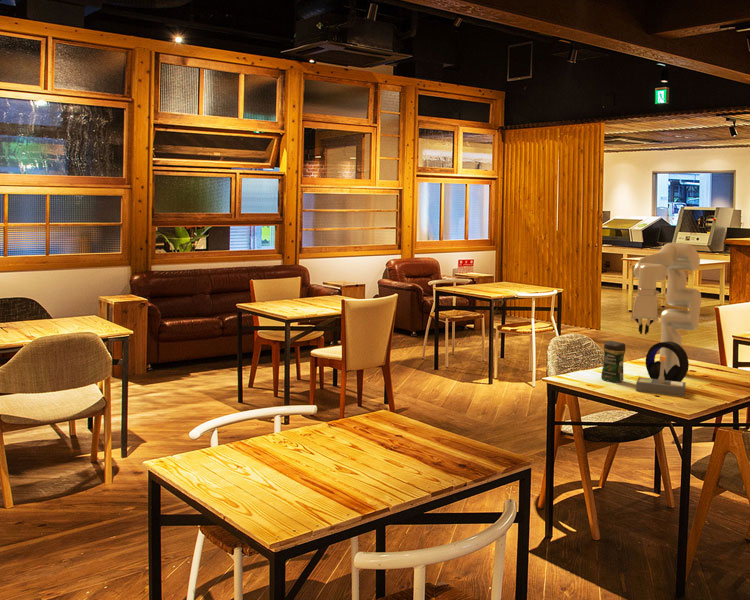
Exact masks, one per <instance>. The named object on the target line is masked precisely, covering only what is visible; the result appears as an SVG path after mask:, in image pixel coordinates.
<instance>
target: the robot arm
mask: <svg viewBox="0 0 750 600" xmlns="http://www.w3.org/2000/svg"><path fill="white" fill-rule="evenodd" d="M700 264H701V257H700V255H699V252H698V251H697V249H696V248H695V247H694V245H692V244H691V243H685V242H684V243H682V242H668V243H665V244H664V245H662V246H661V248H660V249H659V250H658V252H656V253H652V254H650V255H645V256H643V257H641V258H640V259H639V260H638V261H637V262H636V264H635V265H634V267H633V275H634V277H635V279H637V281H638V284H637V294H635V297H634V300H633V309H632V315H631V316H630V319H631V320H632V321H635V322H636V323H637V324H638V333H639V334H640V335H642V334H643V326H644V325H643V321H642V320H643V319H646V324H645V326H644V335H647V334H648V333H649V330H650V325H651V324H653V323H655V322H659V316H658V313H659V312H658V311H659V310H658V306H659V303H658V301H659V299H658V296H657V295H660V290H656V289H657V282H662V281H664V280H665V279H666V278H667V283H666V284H667V285H666V295H665V296H666V297H665V302H666V304H667V305H669V306H672V307H677V308H687V309H688V310H685V309H677V308H667V309H664V310H662V312H661V314H660V326H661V331H660V332H661V334H660V336H661V337H660V342H667V341H670V342H675V343H677V344H679V345H680V346H681V347H682V341H683V340H682V339H683V338H682V335H681V333H680V332H679V330H683V331H695V330H697V328H698V327H699V322H700V314H701V313H700V312H701V304H702V294H701V292H700V290H699V289H697V288H693V287H692V288H690V287H687V275H686V274H685V273H686V272H685V271H696V270H697V269H698V268H700ZM661 355H662V356H666V362H665V366H664V368H665V371H666V374H667V373H668V371H669V370H670V369H671V368H672V367H673V366H674V365H678V366H680V365H679V359H678V357H677V355H676V354H675V353H674V352H673V351H672V350H670V349H668V348H664V347H663V348H661V349H659V358H658V359H659V360H658V361H660V356H661ZM660 362H661V361H660Z"/></svg>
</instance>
